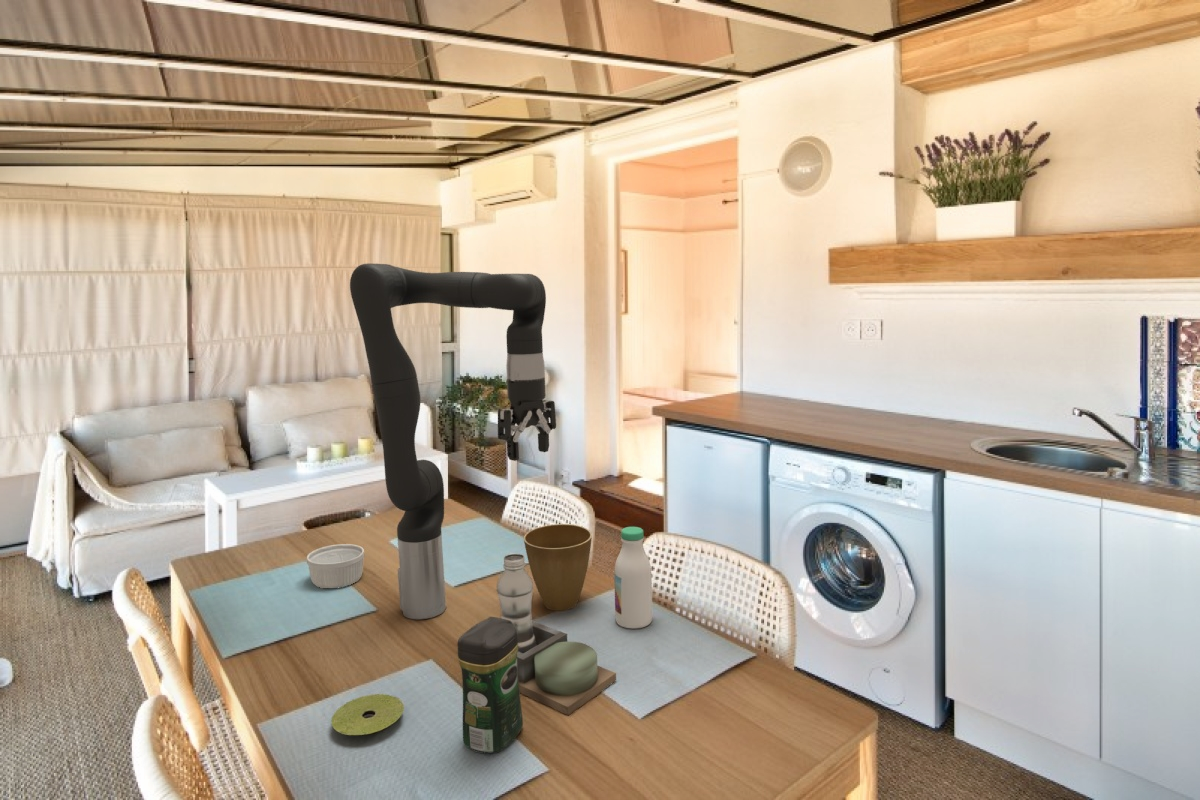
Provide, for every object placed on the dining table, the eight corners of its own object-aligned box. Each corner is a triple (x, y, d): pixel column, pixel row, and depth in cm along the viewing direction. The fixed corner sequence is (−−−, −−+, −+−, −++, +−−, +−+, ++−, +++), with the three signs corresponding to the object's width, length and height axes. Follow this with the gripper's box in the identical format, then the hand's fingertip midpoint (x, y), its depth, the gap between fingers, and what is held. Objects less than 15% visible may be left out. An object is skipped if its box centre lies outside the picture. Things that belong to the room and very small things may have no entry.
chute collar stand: (470, 669, 133) (468, 639, 132) (520, 641, 143) (519, 613, 142) (568, 715, 118) (567, 681, 117) (616, 680, 128) (615, 649, 127)
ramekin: (377, 576, 177) (375, 549, 176) (332, 596, 166) (330, 567, 165) (342, 566, 184) (340, 540, 183) (297, 584, 173) (294, 557, 172)
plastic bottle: (531, 670, 129) (527, 565, 126) (495, 667, 131) (490, 563, 127) (541, 652, 136) (537, 551, 132) (506, 649, 137) (502, 549, 134)
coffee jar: (488, 714, 119) (483, 608, 116) (530, 725, 116) (525, 617, 113) (453, 748, 110) (446, 635, 107) (497, 762, 107) (491, 645, 104)
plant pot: (530, 590, 167) (528, 524, 165) (594, 589, 167) (593, 523, 164) (522, 619, 152) (519, 547, 150) (592, 619, 152) (590, 547, 149)
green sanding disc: (355, 755, 109) (354, 743, 109) (319, 726, 117) (318, 715, 116) (418, 721, 117) (417, 710, 117) (380, 696, 125) (380, 686, 125)
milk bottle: (657, 616, 153) (656, 526, 149) (644, 632, 146) (642, 538, 142) (623, 610, 156) (622, 521, 153) (609, 625, 149) (607, 533, 146)
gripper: (537, 371, 150) (539, 446, 153) (486, 378, 139) (489, 460, 142) (563, 373, 145) (566, 451, 148) (513, 381, 134) (516, 465, 137)
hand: (528, 455), depth 145 cm, fingers open, 8 cm apart
